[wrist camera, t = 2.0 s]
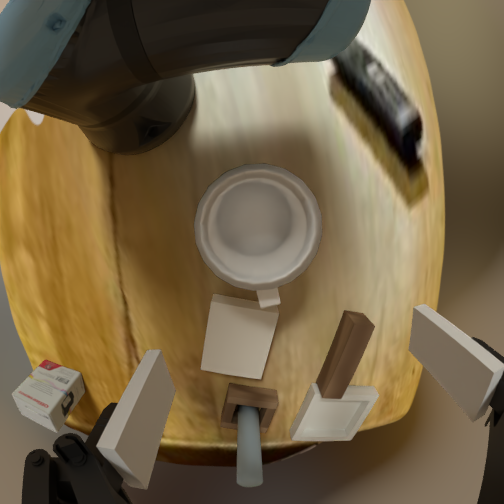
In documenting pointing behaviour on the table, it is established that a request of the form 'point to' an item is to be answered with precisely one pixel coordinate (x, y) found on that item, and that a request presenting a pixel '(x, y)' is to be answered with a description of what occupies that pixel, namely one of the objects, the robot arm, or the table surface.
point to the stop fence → (344, 354)
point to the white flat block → (238, 336)
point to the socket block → (249, 398)
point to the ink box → (49, 394)
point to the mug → (258, 229)
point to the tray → (332, 414)
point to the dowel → (249, 447)
